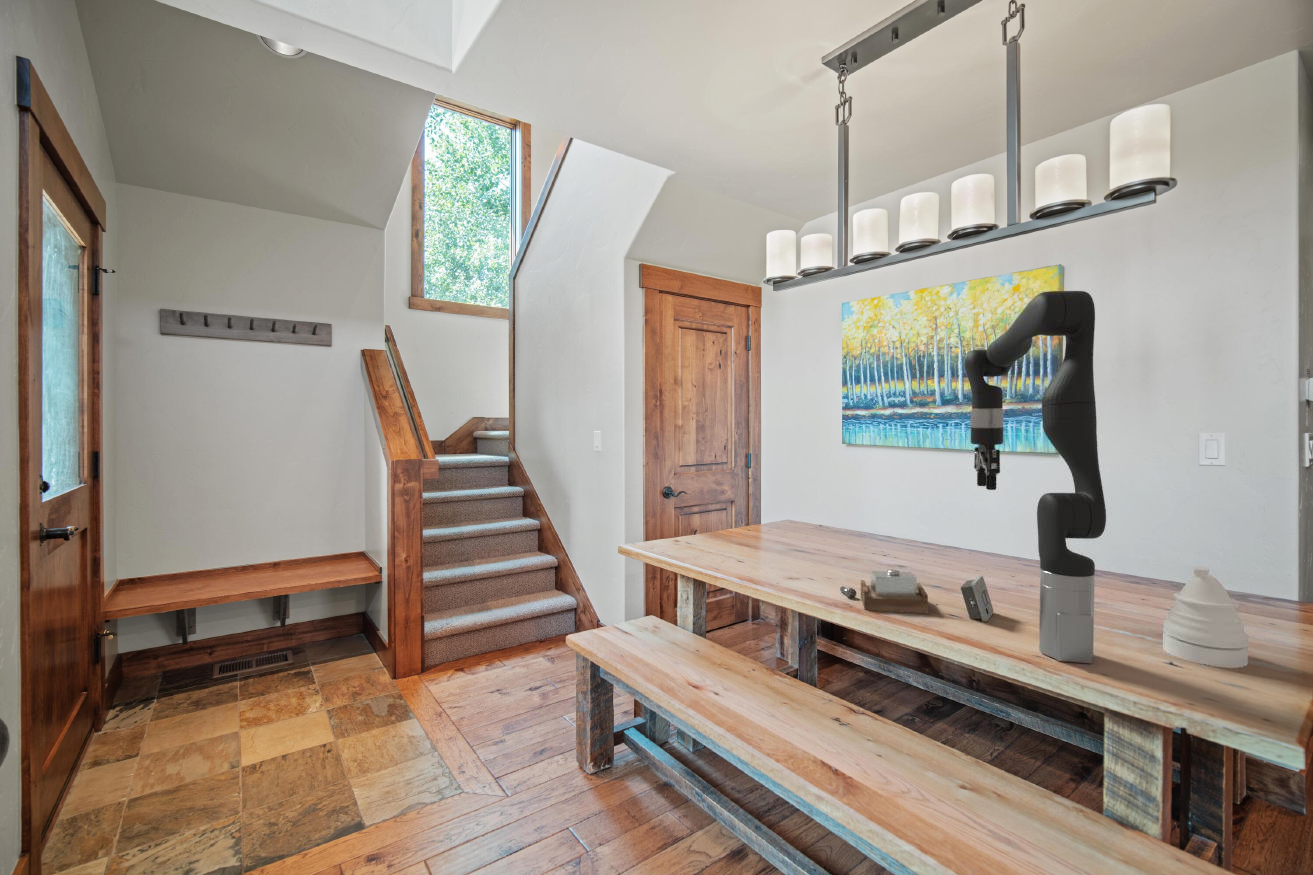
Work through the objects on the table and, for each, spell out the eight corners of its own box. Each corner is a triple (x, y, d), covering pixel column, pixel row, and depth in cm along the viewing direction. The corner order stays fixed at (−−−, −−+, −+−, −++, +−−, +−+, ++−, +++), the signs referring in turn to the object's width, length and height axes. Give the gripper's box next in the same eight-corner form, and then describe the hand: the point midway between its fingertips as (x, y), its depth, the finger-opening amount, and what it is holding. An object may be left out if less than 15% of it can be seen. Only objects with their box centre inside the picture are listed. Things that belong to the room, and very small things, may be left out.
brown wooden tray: (928, 613, 150) (928, 595, 149) (864, 609, 153) (864, 592, 153) (919, 599, 161) (919, 582, 161) (860, 595, 165) (860, 579, 165)
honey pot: (1226, 672, 114) (1229, 578, 114) (1149, 648, 126) (1150, 563, 126) (1261, 660, 120) (1263, 571, 119) (1183, 639, 131) (1185, 557, 131)
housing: (916, 596, 154) (916, 574, 153) (875, 595, 155) (875, 573, 155) (910, 590, 159) (910, 568, 159) (871, 589, 160) (871, 567, 160)
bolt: (856, 598, 163) (856, 588, 163) (847, 598, 163) (847, 588, 163) (847, 591, 169) (847, 582, 169) (838, 592, 169) (838, 582, 169)
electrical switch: (986, 623, 143) (982, 584, 143) (962, 620, 146) (959, 582, 146) (994, 613, 150) (990, 575, 150) (971, 611, 153) (967, 574, 153)
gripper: (1011, 426, 150) (1011, 491, 150) (994, 425, 163) (994, 485, 164) (978, 426, 151) (978, 490, 152) (964, 425, 165) (963, 484, 166)
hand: (986, 487), depth 158 cm, fingers open, 8 cm apart
